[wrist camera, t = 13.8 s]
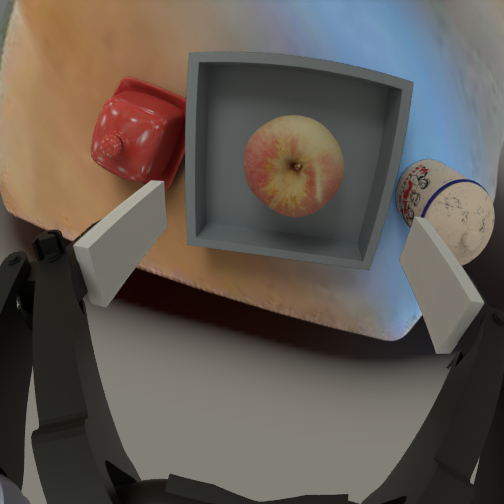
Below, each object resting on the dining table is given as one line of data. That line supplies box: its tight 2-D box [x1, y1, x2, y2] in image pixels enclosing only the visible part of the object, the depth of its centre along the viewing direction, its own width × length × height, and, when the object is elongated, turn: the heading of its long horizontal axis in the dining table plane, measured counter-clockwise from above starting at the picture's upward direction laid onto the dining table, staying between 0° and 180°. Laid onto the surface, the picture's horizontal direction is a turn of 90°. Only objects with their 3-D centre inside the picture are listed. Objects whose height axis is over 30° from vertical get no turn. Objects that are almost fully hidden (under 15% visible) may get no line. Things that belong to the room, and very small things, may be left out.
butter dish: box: [91, 77, 186, 191], centre depth 26 cm, size 12×12×8 cm
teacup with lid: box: [396, 159, 494, 266], centre depth 24 cm, size 12×9×12 cm
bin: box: [185, 52, 413, 270], centre depth 27 cm, size 20×20×5 cm
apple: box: [244, 115, 344, 217], centre depth 24 cm, size 9×9×8 cm
